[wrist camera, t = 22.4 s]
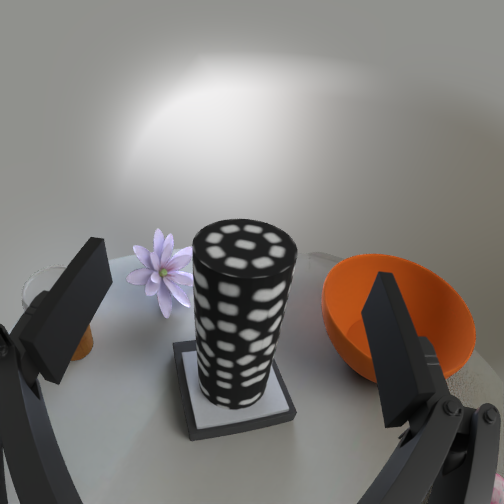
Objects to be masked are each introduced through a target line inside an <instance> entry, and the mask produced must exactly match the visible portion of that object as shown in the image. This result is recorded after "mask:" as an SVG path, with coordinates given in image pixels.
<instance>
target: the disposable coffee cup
mask: <svg viewBox="0 0 504 504" xmlns="http://www.w3.org/2000/svg"><path fill="white" fill-rule="evenodd" d="M66 268H67V266H65V265H54V266H49V267H46V268H43V269H41V270H39V271H37V272H36V273H34V274H33V275H32V276H31V277H30V278H29V279H28V280H27V281H26V283H25V284H24V286H23V289H22V305H23V308H24V310H25V311H26V309H27V308H28V307H29V305H30V303H31V302H32V301H33V299H34V298H35V297H36V296H37V295H38V294H39V293H41V292H42V291H43V290H46V291H50V289H51V288H52V286H53V285H54V284H55V282H56V281H57V280H58V278H59V277H60V276H61V274H62V273H63V272H64V270H65V269H66ZM92 347H93V338H92V334H91V329H90V324H89V326H88V328H87V329H86V331H85V333H84V335H83V337H82V339H81V341H80V343H79V345H78V347H77V349H76V351H75V353H74V355H73V357H72V359H71V361H75V360H80V359H82V358H84V357H85V356H86V355H88V354H89V353H90V351H91V349H92Z"/></svg>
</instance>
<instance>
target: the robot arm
mask: <svg viewBox="0 0 504 504" xmlns="http://www.w3.org/2000/svg"><path fill="white" fill-rule="evenodd" d="M112 283H113V281H112V277H111V272H110V268H109V263H108V258H107V253H106V248H105V242H104V239H102V238H94V237H90V239H89V240H88V241H87V242H86V244H85V245H84V246H83V247H82V248H81V250H80V251H79V252H78V253H77V255H76V256H75V257H74V259H73V260H72V261H71V263H70V264H69V265H68V266H67V268H66V269H65V270H64V272H63V273H62V274H61V276H60V277H59V278H58V280H57V281H56V282H55V284H54V285H53V286H52V288H51V289H50V291H46V290H43V291H42V292H41V293H39V294H38V295H37V296H36V297H35V298H34V299H33V301H32V302H31V303H30V305H29V307H28V308H27V309H26V311H25V313H23V315H22V316H21V318H20V319H19V321H18V322H17V324H16V325H15V327H14V328H13V330H12V332H11V333H10V335H9V334H8V332H7V330H6V329H5V327H4V326H3V325H2V324H0V504H8V500H7V493H6V484H5V474H4V462H3V449H4V453H5V457H6V461H7V464H8V468H9V471H10V475H11V478H12V481H13V484H14V487H15V490H16V493H17V496H18V499H19V501H20V504H83V503H82V501H81V499H80V497H79V494H78V492H77V490H76V488H75V486H74V484H73V481H72V479H71V477H70V474H69V472H68V470H67V467H66V465H65V462H64V460H63V457H62V454H61V452H60V449H59V446H58V444H57V441H56V438H55V435H54V432H53V429H52V426H51V423H50V420H49V416H48V413H47V409H46V406H45V402H44V399H43V395H42V391H41V387H40V383H39V381H38V379H37V376H38V374H39V372H40V373H41V374H42V376H43V377H44V379H45V380H47V381H50V382H53V383H55V384H58V385H59V384H60V382H61V380H62V378H63V375H64V373H65V371H66V369H67V367H68V365H69V363H70V361H71V359H72V357H73V355H74V353H75V351H76V349H77V347H78V345H79V343H80V341H81V339H82V337H83V335H84V333H85V331H86V329H87V328H88V326H89V324H90V322H91V320H92V318H93V316H94V315H95V313H96V311H97V309H98V307H99V305H100V304H101V302H102V300H103V298H104V297H105V295H106V293H107V291H108V290H109V288H110V286H111V284H112ZM361 315H362V319H363V323H364V327H365V331H366V335H367V340H368V344H369V348H370V353H371V357H372V362H373V366H374V371H375V376H376V380H377V385H378V390H379V396H380V401H381V406H382V412H383V417H384V423H385V428H390V427H401V426H402V425H403V424H405V423H406V422H407V421H408V420H409V425H410V427H409V428H408V429H407V430H406V431H405V432H403V433H402V434H401V435H400V436H399V437H398V438H399V439H401V438H402V439H401V441H400V442H399V444H398V446H397V447H396V449H395V450H394V452H393V454H392V455H391V457H390V458H389V460H388V461H387V463H386V464H385V466H384V467H383V469H382V470H381V472H380V473H379V475H378V476H377V477H376V479H375V480H374V482H373V483H372V484H371V486H370V487H369V489H368V490H367V491H366V493H365V494H364V495H363V496H362V498H361V499H360V500H359V502H358V503H357V504H422V502H423V501H424V499H425V497H426V495H427V494H428V492H429V490H430V488H431V486H432V484H433V487H432V490H431V494H430V497H429V500H428V504H491V499H492V494H493V488H494V482H495V476H496V469H497V461H498V451H499V440H500V424H501V419H500V414H499V411H498V410H497V408H496V407H495V406H494V405H492V404H489V403H486V404H483V405H482V406H481V407H479V408H478V409H473V408H469V407H464V406H463V405H462V403H461V402H460V400H459V399H458V398H457V397H455V396H453V395H450V392H449V389H448V386H447V383H446V380H445V377H444V374H443V371H442V369H441V366H440V365H439V364H440V363H439V360H438V357H436V356H437V355H436V352H435V349H434V347H433V345H432V343H431V342H430V341H429V340H428V338H427V337H424V336H418V335H417V332H416V330H415V327H414V324H413V322H412V319H411V317H410V314H409V311H408V309H407V306H406V304H405V301H404V299H403V297H402V294H401V292H400V289H399V287H398V285H397V282H396V280H395V278H394V275H393V273H390V272H381V271H378V274H377V276H376V279H375V281H374V283H373V286H372V288H371V291H370V293H369V295H368V298H367V300H366V302H365V304H364V307H363V309H362V311H361Z"/></svg>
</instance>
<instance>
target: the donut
mask: <svg viewBox="0 0 504 504" xmlns="http://www.w3.org/2000/svg"><path fill="white" fill-rule="evenodd" d="M491 504H504V479H503V478H502V477H501V476H500V475H499V474H497V473H496V476H495V482H494V488H493V494H492V499H491Z"/></svg>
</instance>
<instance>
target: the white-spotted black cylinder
mask: <svg viewBox="0 0 504 504" xmlns="http://www.w3.org/2000/svg"><path fill="white" fill-rule="evenodd" d="M192 252H193V288H194V313H195V332H196V349H197V364H198V378H199V386H200V389H201V391H202V393H203V395H204V396H205V398H206V399H208V400H209V401H210V402H211V403H213V404H214V405H216V406H218V407H221V408H224V409H229V410H238V409H244V408H247V407H250V406H252V405H253V404H255V403H256V402H257V401H259V400H260V399H261V397H262V396H263V394H264V392H265V390H266V386H267V382H268V378H269V374H270V370H271V367H272V363H273V359H274V355H275V351H276V346H277V342H278V338H279V334H280V330H281V326H282V321H283V317H284V313H285V309H286V304H287V300H288V295H289V291H290V287H291V282H292V278H293V273H294V268H295V264H296V259H297V247H296V244H295V242H294V241H293V239H292V238H291V237H290V236H289V235H288V234H286V233H285V232H284V231H283V230H281V229H279V228H277V227H275V226H273V225H270V224H268V223H264V222H261V221H256V220H249V219H229V220H223V221H218V222H215V223H212V224H210V225H208V226H206V227H204V228H203V229H201V230H200V231H199V232H198V233H197V234H196V236H195V238H194V239H193V245H192Z"/></svg>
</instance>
